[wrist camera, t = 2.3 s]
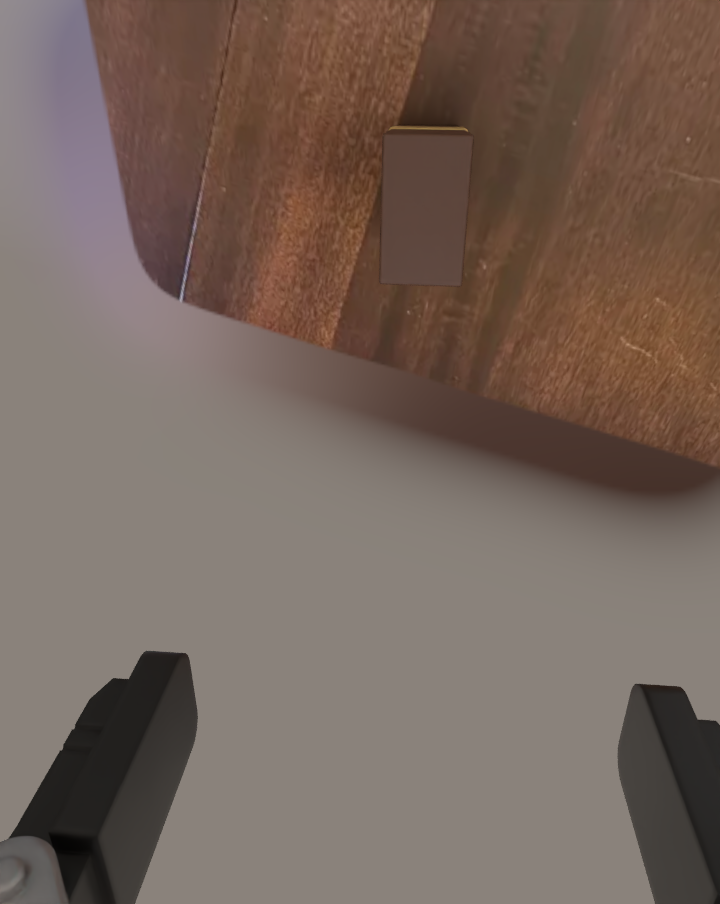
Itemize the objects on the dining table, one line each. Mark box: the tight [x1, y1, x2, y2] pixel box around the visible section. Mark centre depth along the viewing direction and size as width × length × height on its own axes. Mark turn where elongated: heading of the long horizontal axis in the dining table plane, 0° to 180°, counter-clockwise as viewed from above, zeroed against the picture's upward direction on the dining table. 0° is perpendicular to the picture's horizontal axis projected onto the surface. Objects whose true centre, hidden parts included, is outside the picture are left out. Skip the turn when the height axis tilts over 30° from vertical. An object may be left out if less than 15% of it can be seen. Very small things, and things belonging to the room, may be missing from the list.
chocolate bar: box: [379, 125, 474, 287], centre depth 29 cm, size 3×5×12 cm, turn 179°
